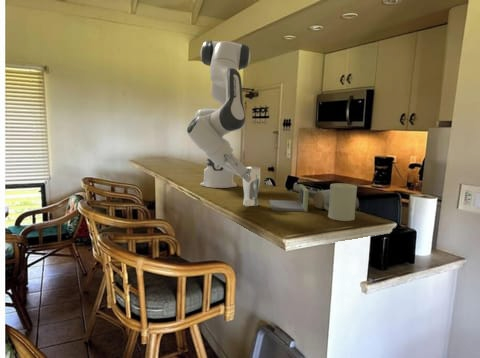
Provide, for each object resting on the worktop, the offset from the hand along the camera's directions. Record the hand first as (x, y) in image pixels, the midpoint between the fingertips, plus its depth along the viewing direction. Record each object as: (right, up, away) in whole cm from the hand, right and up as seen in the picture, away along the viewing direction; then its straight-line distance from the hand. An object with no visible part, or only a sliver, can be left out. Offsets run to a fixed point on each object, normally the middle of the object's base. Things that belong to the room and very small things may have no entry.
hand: (244, 179), depth 136 cm
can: (+34, -14, -13) cm, 39 cm away
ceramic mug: (+33, -12, -1) cm, 35 cm away
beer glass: (+2, -10, +2) cm, 11 cm away
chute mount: (+16, -11, +1) cm, 20 cm away
